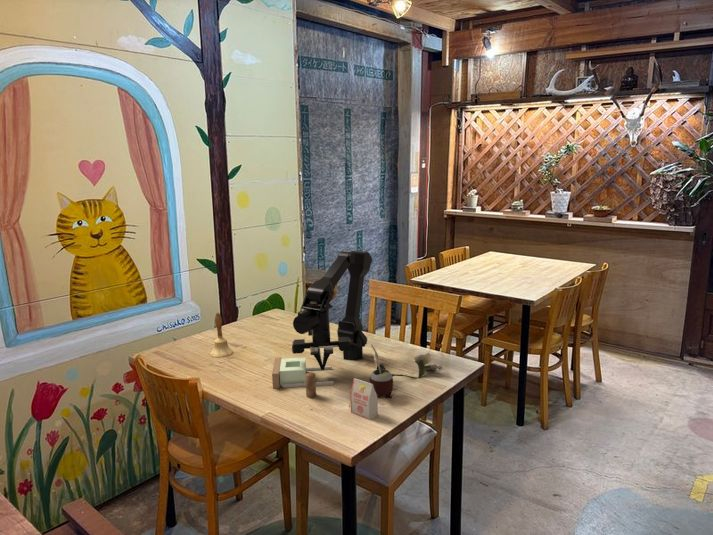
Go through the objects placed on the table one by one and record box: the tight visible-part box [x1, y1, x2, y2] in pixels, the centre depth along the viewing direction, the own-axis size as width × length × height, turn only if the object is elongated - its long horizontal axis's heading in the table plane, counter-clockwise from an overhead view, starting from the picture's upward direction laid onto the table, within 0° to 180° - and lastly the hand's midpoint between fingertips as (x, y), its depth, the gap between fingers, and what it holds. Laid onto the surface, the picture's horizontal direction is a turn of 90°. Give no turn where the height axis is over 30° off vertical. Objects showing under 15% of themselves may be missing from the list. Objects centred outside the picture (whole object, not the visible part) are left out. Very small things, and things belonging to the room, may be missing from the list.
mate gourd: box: [369, 344, 394, 400], centre depth 155 cm, size 8×8×15 cm
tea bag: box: [349, 377, 378, 421], centre depth 146 cm, size 4×7×10 cm, turn 50°
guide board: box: [271, 357, 335, 389], centre depth 168 cm, size 20×13×6 cm, turn 95°
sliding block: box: [279, 357, 307, 387], centre depth 168 cm, size 8×10×5 cm
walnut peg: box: [305, 371, 317, 399], centre depth 156 cm, size 3×3×8 cm
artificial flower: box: [376, 352, 444, 380], centre depth 169 cm, size 9×22×10 cm, turn 107°
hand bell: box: [210, 312, 234, 358], centre depth 193 cm, size 8×8×16 cm
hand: (322, 369), depth 169 cm, fingers closed
